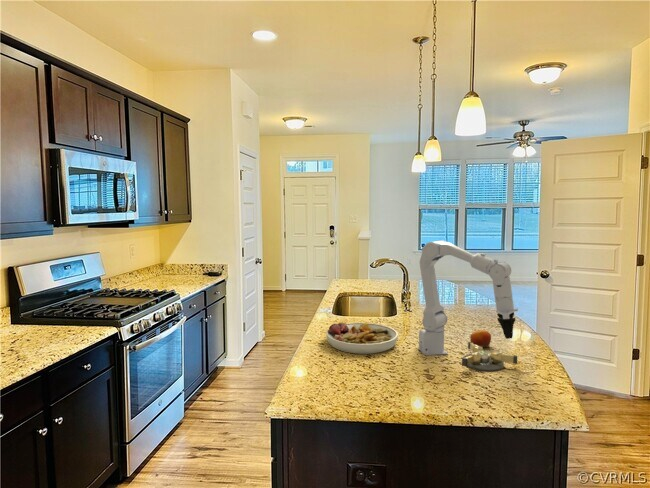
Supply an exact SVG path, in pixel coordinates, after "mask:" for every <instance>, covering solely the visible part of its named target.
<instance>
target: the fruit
mask: <svg viewBox="0 0 650 488" xmlns="http://www.w3.org/2000/svg"><path fill="white" fill-rule="evenodd" d="M469 338H470V342H472V343H473V344H474V345H477V346H481V347H483V348H490V344H491V341H492V335H491V333H490V332H489V331H488V330H485V329H478V330H474V331H473V332H472V333H471V334H470V337H469Z"/></svg>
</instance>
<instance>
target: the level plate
mask: <svg viewBox="0 0 650 488" xmlns="http://www.w3.org/2000/svg"><path fill="white" fill-rule="evenodd" d="M477 353H480V354H481V364H469V365H467V366H466V367H468V369H473V370H476V371H481V372H498V371H501V370H503V369H504V367H505V362H502V363H499V364H497V363H493V362H491V352H489V351H487V350H483V351H477ZM468 356H470V354H466V355H463V357H462V358H464V357H468Z"/></svg>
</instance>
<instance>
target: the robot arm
mask: <svg viewBox="0 0 650 488" xmlns="http://www.w3.org/2000/svg"><path fill="white" fill-rule="evenodd" d="M445 256H452V257H454V258H457V259H460V260H462V261H465V262H467V263H469V265H470V266H471V268H472V269H475V270H477V271H480V272H481V273H484V274H486V275H488V276H489V277H490V278H491V280H492V286H493V293H494V295H493V296H494V303H495V308H496V309H495V313H496V314H497V322H498V323H499V324H500V325H499V326H500V327H501V329H502V332H503V335H504V338H505V339H507V340H508V339H513V338H514V337H513V335H514V334H513V333H514V325H515V321H516V318H515V317H514V316H515V312H518V311H519V310H518V307H516V308H515V306H514V300H513V292H512V285H511V284H512V283H511V278H510V276H511V274H512V267H511V265H510V264H509V263H507V262H506V261H499V259H497V258H494V259H493V258H491V257H489V256H487V255H486V253H485V252H484V253H483V252H482V253H479V252H477V253H475V254H473V253H471V252H469V251H468V250H465V249H463V248H461V247H459V246H457V245H455V244H453V243H451V242H448V241H446V240H444V239H440V240H438V241H437V240H435V241H429V242H426V243H425V244H424V246H423V247H422V248H421V255H420V259H419V268H420V274H421V280H422V281H421V282H422V288H423V295H424V302H425V308H424V310H423V312H422V314H423V318H422V319H421V320H422V321H421V323H422V326H423V328H424V329H421V330H419V331H418V332H419V333H418V347H417V348H418V350H419V351H420V352H421V353H422V354H423V355H424V356H432V355H433V356H435V355H437V356H438V355H448V354H449V353H448V352H447V350H445V326H446V325H447V323H448V317H447V314H446V313H445V310H444V307H443V306H442V305H441V303H440V302H441V301H440V296H439V288H438V284H437V276H436V270H435V269H436V268H435V265H436V264H437V262H438V261H440V259H441V258H443V257H445Z"/></svg>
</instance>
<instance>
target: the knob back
mask: <svg viewBox="0 0 650 488" xmlns="http://www.w3.org/2000/svg"><path fill="white" fill-rule="evenodd" d="M467 349H468V350H470V351H472V352H477V351H484V350H483V349H484V347H481V346H477V345H474V344H473V343H472V342H471V341H468V342H467Z"/></svg>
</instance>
